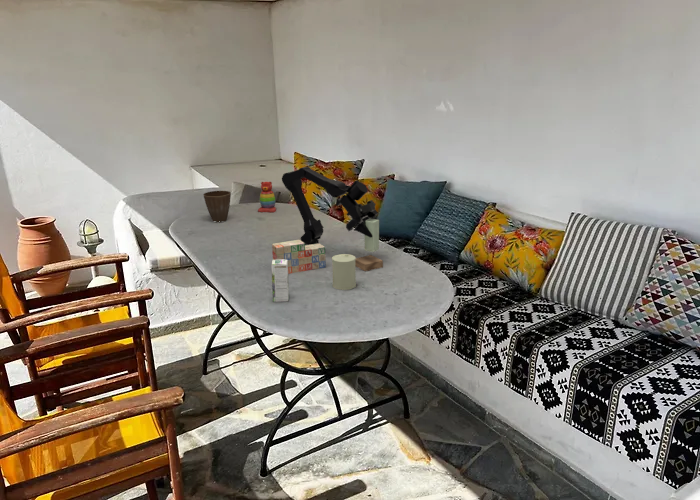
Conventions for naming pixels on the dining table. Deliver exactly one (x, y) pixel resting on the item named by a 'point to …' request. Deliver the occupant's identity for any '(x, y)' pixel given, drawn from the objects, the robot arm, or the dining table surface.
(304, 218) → the robot arm
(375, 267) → the walnut slab
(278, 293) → the syrup box
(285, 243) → the stack of blocks
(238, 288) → the dining table surface
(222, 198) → the plant pot
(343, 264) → the can
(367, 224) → the sage post
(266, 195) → the stacking bear
